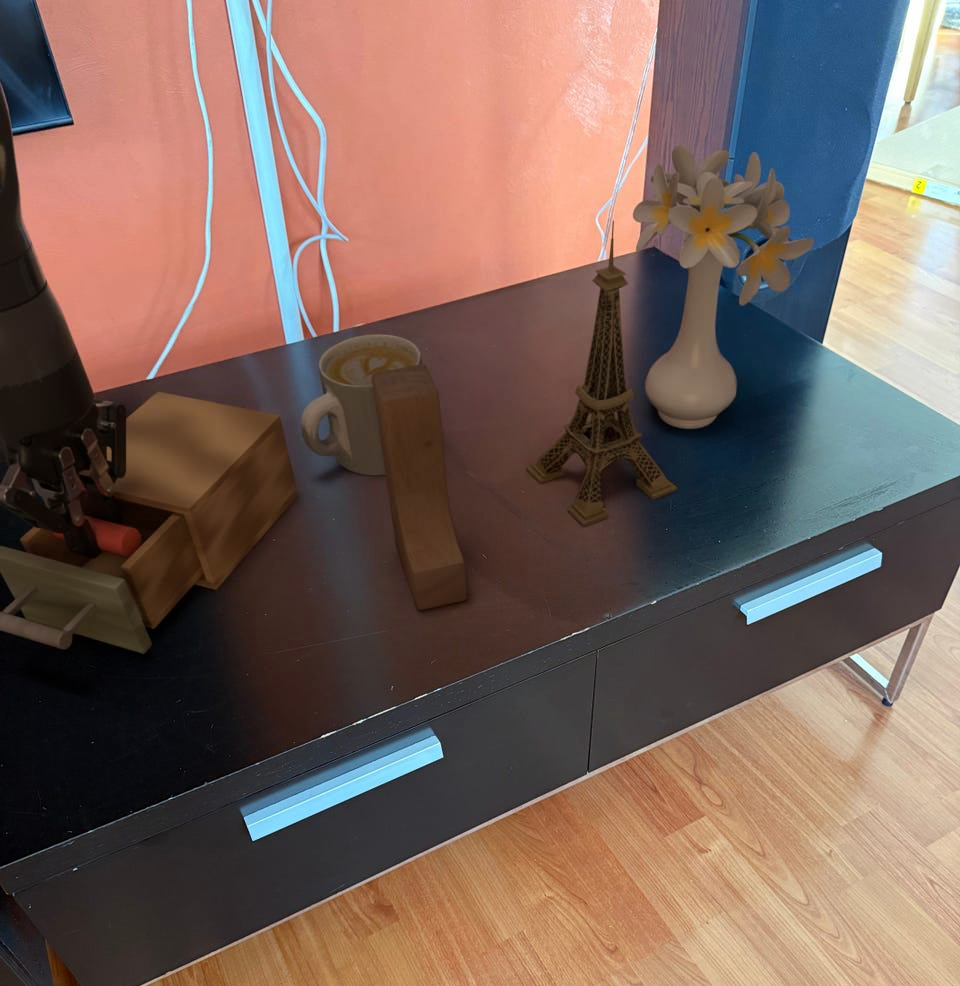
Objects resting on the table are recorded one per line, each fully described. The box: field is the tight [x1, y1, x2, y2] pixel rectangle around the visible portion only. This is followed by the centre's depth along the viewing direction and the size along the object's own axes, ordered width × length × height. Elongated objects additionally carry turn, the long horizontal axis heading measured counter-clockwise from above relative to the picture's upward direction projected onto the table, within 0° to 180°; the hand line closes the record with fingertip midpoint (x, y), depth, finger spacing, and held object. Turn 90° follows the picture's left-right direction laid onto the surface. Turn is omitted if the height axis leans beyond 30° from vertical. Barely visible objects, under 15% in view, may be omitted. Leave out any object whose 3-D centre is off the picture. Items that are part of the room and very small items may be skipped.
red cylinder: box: [53, 515, 141, 557], centre depth 78 cm, size 7×2×2 cm
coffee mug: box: [300, 333, 423, 476], centre depth 94 cm, size 13×10×10 cm
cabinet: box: [80, 391, 299, 591], centre depth 88 cm, size 15×14×9 cm
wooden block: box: [372, 363, 468, 611], centre depth 78 cm, size 9×4×18 cm, turn 16°
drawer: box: [0, 490, 204, 655], centre depth 80 cm, size 18×12×7 cm
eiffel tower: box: [525, 220, 678, 528], centre depth 84 cm, size 11×11×25 cm
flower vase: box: [632, 144, 815, 430], centre depth 91 cm, size 13×18×25 cm
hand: (100, 542), depth 79 cm, fingers closed on red cylinder, 2 cm apart
